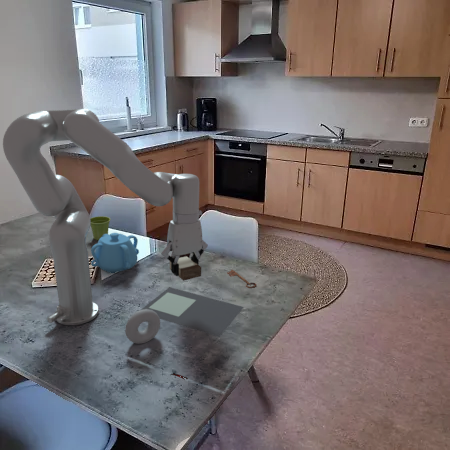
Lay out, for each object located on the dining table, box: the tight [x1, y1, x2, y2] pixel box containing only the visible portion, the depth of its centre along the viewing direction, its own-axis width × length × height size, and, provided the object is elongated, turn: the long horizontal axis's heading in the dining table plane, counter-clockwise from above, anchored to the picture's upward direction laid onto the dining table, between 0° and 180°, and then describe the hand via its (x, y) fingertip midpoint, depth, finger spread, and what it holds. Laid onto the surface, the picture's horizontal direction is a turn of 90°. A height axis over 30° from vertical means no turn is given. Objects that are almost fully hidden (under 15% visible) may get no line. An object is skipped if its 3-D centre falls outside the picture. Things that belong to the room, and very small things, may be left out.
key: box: [226, 269, 257, 289], centre depth 150 cm, size 6×1×15 cm
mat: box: [140, 286, 245, 338], centre depth 129 cm, size 18×28×1 cm, turn 65°
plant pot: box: [90, 215, 111, 241], centre depth 182 cm, size 9×9×9 cm
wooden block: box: [169, 256, 202, 282], centre depth 125 cm, size 9×6×3 cm
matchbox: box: [167, 372, 189, 381], centre depth 100 cm, size 5×5×1 cm
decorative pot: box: [90, 232, 140, 275], centre depth 154 cm, size 16×16×14 cm
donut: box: [124, 308, 161, 345], centre depth 112 cm, size 10×3×10 cm, turn 124°
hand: (185, 271), depth 125 cm, fingers closed on wooden block, 5 cm apart
